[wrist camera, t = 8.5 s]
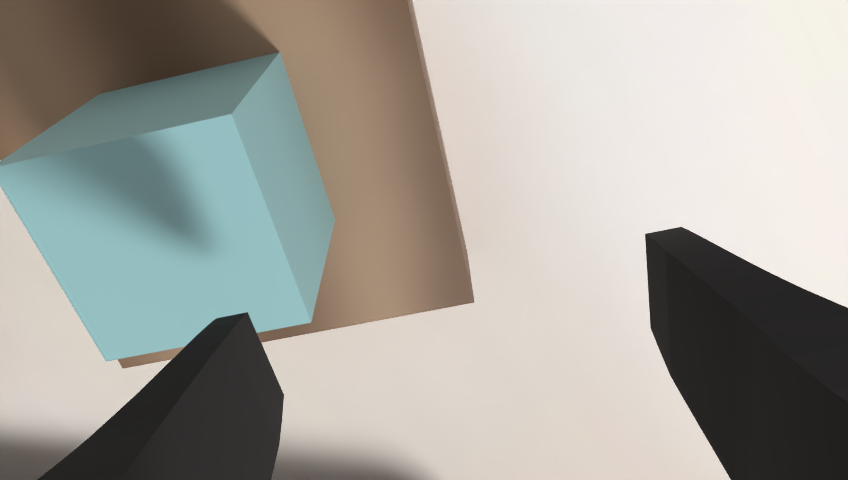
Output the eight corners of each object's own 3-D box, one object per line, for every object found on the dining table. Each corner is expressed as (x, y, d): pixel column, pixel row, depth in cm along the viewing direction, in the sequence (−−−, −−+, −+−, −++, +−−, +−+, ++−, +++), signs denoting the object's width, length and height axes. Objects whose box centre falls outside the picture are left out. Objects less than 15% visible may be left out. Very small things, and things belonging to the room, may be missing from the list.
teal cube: (280, 52, 16) (231, 113, 12) (335, 220, 19) (311, 322, 14) (99, 93, 17) (-11, 168, 13) (175, 252, 19) (106, 361, 15)
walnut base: (385, -121, 17) (380, -121, 15) (467, 254, 23) (474, 302, 20) (-22, -17, 18) (-94, 0, 16) (154, 315, 24) (123, 368, 21)
